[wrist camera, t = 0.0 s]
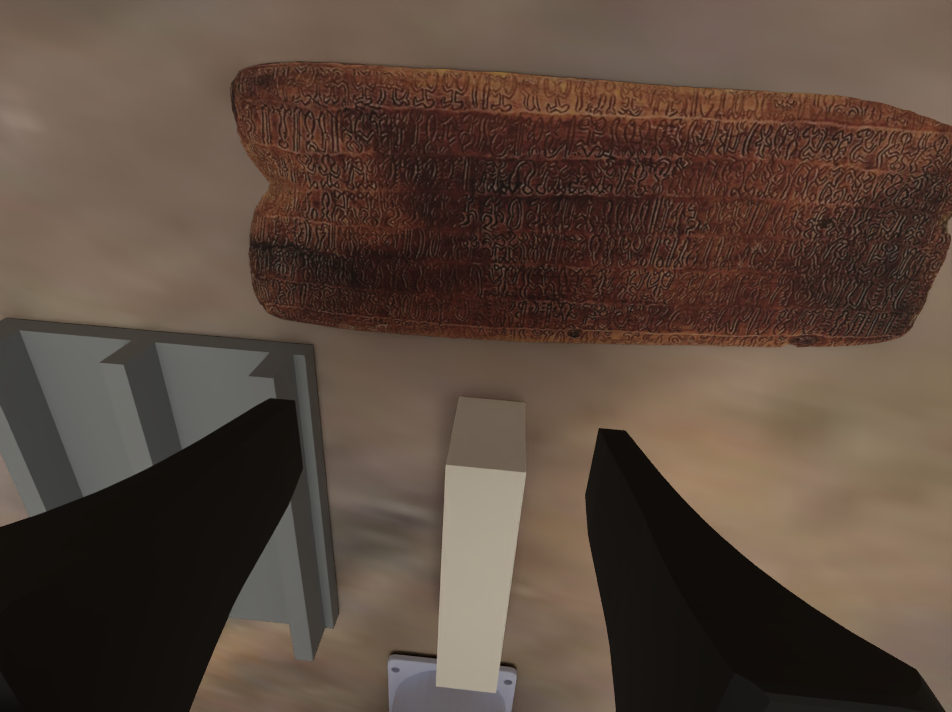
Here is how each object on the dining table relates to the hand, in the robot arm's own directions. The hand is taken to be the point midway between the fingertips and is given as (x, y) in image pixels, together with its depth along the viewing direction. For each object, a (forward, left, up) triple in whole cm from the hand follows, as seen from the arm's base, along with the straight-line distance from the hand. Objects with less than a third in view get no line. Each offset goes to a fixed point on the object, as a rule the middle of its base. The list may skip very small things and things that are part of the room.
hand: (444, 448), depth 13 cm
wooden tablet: (+3, -4, -11) cm, 12 cm away
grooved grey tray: (-12, +14, -10) cm, 21 cm away
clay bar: (-12, -1, -10) cm, 16 cm away
